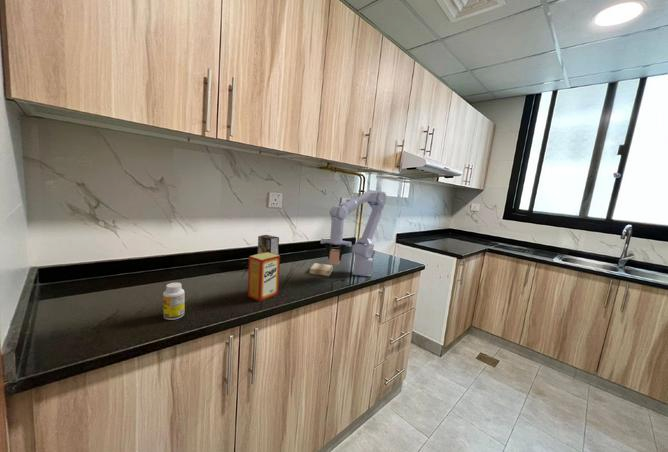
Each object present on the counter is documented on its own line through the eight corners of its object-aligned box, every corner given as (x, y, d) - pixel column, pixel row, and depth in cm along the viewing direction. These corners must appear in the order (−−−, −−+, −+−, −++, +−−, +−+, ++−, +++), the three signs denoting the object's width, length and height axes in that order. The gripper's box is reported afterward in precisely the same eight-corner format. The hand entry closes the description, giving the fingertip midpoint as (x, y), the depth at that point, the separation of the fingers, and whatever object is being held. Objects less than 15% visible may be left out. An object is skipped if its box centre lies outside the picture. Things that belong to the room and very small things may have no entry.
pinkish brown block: (339, 262, 125) (340, 250, 124) (338, 264, 120) (339, 252, 119) (330, 261, 125) (331, 249, 124) (329, 263, 121) (329, 251, 120)
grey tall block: (278, 267, 134) (280, 237, 132) (270, 270, 129) (271, 238, 126) (265, 263, 138) (266, 234, 136) (256, 266, 133) (257, 235, 130)
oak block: (332, 270, 137) (332, 265, 137) (329, 276, 127) (329, 270, 127) (314, 268, 138) (314, 263, 138) (309, 274, 129) (310, 268, 128)
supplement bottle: (163, 314, 80) (162, 282, 79) (183, 310, 83) (183, 280, 82) (163, 322, 76) (163, 289, 74) (185, 318, 79) (185, 286, 77)
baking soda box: (266, 289, 105) (268, 251, 103) (278, 293, 102) (280, 254, 100) (247, 296, 97) (249, 255, 95) (259, 301, 94) (261, 259, 92)
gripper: (320, 231, 117) (318, 259, 119) (351, 234, 116) (349, 263, 118) (322, 229, 124) (320, 256, 126) (352, 232, 123) (350, 259, 125)
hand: (334, 259), depth 122 cm, fingers closed on pinkish brown block, 4 cm apart
